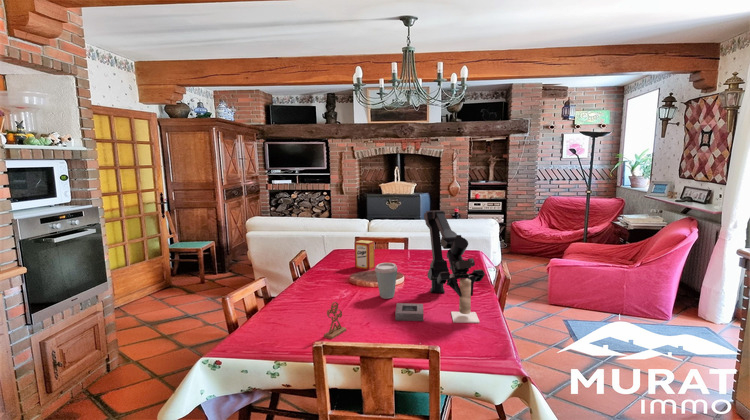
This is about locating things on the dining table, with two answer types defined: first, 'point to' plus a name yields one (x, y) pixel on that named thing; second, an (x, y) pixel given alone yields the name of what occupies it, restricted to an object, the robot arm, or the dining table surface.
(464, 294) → the birch peg
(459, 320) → the white mat
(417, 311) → the socket block
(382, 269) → the disposable coffee cup
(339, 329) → the gingerbread man figurine
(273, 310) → the dining table surface
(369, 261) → the baking soda box
